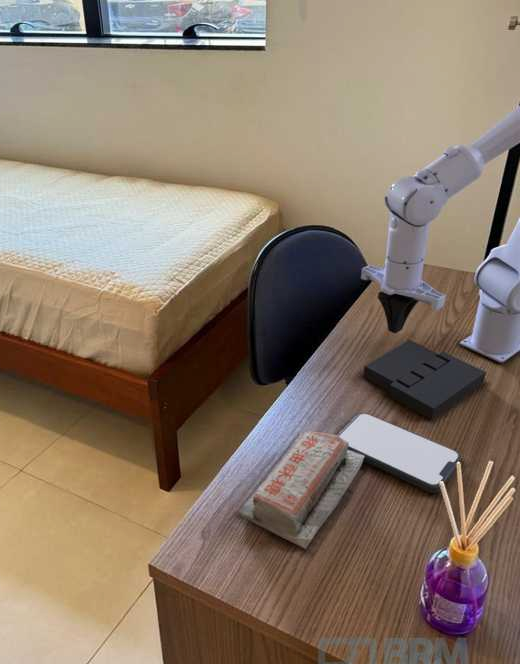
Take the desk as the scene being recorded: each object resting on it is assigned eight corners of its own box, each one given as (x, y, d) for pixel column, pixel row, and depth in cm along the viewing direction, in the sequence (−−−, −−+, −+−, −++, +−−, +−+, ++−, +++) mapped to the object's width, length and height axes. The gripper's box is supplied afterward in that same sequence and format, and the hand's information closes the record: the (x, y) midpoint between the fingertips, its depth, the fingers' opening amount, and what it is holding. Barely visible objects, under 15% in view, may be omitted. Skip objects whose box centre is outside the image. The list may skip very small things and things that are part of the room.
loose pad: (407, 350, 109) (409, 339, 108) (448, 370, 103) (451, 359, 102) (363, 377, 104) (364, 365, 102) (404, 400, 98) (406, 388, 96)
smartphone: (330, 448, 90) (436, 499, 80) (330, 440, 89) (438, 490, 80) (360, 417, 95) (463, 461, 86) (361, 409, 95) (465, 453, 85)
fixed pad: (440, 362, 106) (442, 351, 104) (483, 383, 100) (486, 371, 99) (388, 396, 99) (390, 384, 98) (431, 420, 93) (433, 408, 92)
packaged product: (308, 526, 72) (237, 492, 78) (306, 552, 75) (238, 518, 80) (367, 438, 84) (302, 413, 89) (364, 463, 87) (301, 438, 92)
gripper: (351, 249, 98) (345, 321, 105) (429, 280, 88) (417, 357, 95) (380, 236, 101) (372, 307, 108) (458, 265, 91) (444, 340, 98)
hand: (395, 329), depth 102 cm, fingers closed
